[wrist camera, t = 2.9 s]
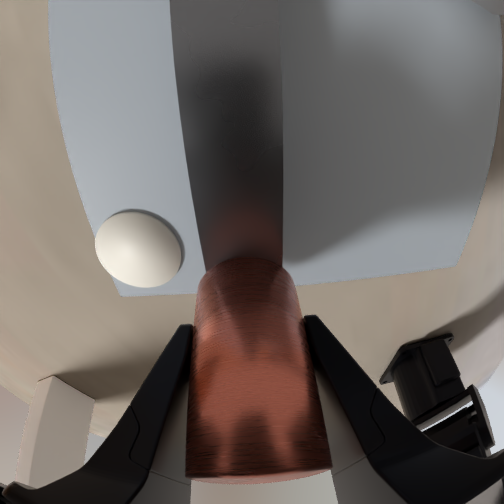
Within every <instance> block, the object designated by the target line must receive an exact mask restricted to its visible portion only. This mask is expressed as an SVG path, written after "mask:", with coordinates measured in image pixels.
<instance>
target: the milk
mask: <svg viewBox="0 0 504 504" xmlns="http://www.w3.org/2000/svg"><path fill="white" fill-rule="evenodd" d="M94 403H95V400H94V399H92V398H91V397H89V396H87V395H85V394H83V393H82V392H80V391H78V390H76V389H75V388H73V387H71V386H70V385H68V384H66V383H65V382H63V381H61V380H60V379H58V378H57V377H55V376H50V377H48V378H46V379H43V380H41V381H38V382H37V384H36V387H35V391H34V394H33V397H32V401H31V404H30V408H29V411H28V416H27V419H26V423H25V428H24V431H23V436H22V441H21V445H20V451H19V456H18V462H17V469H16V476H15V481H16V482H20V483H23V484H25V485H28V486H31V487H34V488H36V489H38V488H41V487H43V486H45V485H48V484H50V483H52V482H54V481H56V480H58V479H60V478H62V477H64V476H67V475H69V474H71V473H73V472H75V471H76V470H78V469H80V468H81V467H82V466H84V460H85V453H86V446H87V440H88V434H89V428H90V423H91V418H92V413H93V408H94Z"/></svg>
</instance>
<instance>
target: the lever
mask: <svg viewBox="0 0 504 504" xmlns="http://www.w3.org/2000/svg"><path fill="white" fill-rule="evenodd" d="M169 1H170V18H171V33H172V45H173V56H174V67H175V77H176V86H177V95H178V104H179V112H180V120H181V127H182V135H183V142H184V149H185V156H186V163H187V169H188V176H189V182H190V188H191V194H192V200H193V206H194V212H195V217H196V223H197V228H198V234H199V239H200V244H201V250H202V255H203V260H204V265H205V270H206V274H205V275H204V276H203V277H202V279H201V280H200V283H199V285H198V290H197V299H196V308H195V318H194V328H193V339H192V350H191V362H190V375H189V390H188V407H187V427H186V455H185V477H186V478H188V479H191V480H195V481H201V482H208V483H218V484H258V483H259V484H260V483H271V482H280V481H287V480H293V479H299V478H304V477H308V476H312V475H316V474H319V473H322V472H325V471H328V470H330V469H332V468H333V465H332V459H331V453H330V448H329V442H328V437H327V431H326V426H325V421H324V416H323V411H322V406H321V401H320V396H319V391H318V386H317V381H316V377H315V372H314V367H313V362H312V358H311V353H310V349H309V344H308V340H307V335H306V331H305V327H304V322H303V318H302V314H301V309H300V305H299V301H298V297H297V293H296V288H295V284H294V281H293V279H292V277H291V275H290V274H289V273H288V272H287V271H286V270H285V269H284V268H283V267H282V265H283V104H282V71H281V47H280V27H279V9H278V0H169Z"/></svg>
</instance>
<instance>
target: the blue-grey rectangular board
mask: <svg viewBox="0 0 504 504" xmlns="http://www.w3.org/2000/svg"><path fill="white" fill-rule="evenodd" d="M278 9H279V27H280V47H281V71H282V104H283V265H282V267H283V268H284V269H285V270H286V271H287V272H288V273H289V274H290V275H291V277H292V279H293V281H294V284H295V286H299V285H310V284H320V283H330V282H339V281H348V280H357V279H366V278H374V277H382V276H390V275H398V274H405V273H413V272H420V271H427V270H434V269H441V268H447V267H454V266H456V265H457V263H458V260H459V258H460V256H461V253H462V251H463V248H464V246H465V243H466V241H467V238H468V235H469V233H470V230H471V227H472V225H473V222H474V219H475V216H476V213H477V210H478V207H479V204H480V200H481V197H482V194H483V190H484V187H485V183H486V179H487V175H488V171H489V167H490V163H491V158H492V153H493V149H494V143H495V138H496V132H497V125H498V118H499V110H500V101H501V88H502V32H501V20H500V15H504V0H278ZM48 25H49V45H50V57H51V67H52V75H53V83H54V90H55V96H56V102H57V108H58V113H59V118H60V123H61V128H62V132H63V136H64V141H65V145H66V149H67V153H68V157H69V160H70V164H71V168H72V171H73V175H74V178H75V181H76V185H77V188H78V191H79V194H80V197H81V200H82V203H83V206H84V209H85V212H86V215H87V217H88V220H89V223H90V226H91V228H92V231H93V234H94V236H95V249H96V253H97V256H98V258H99V260H100V262H101V264H102V265H103V267H104V268H105V269H106V270H107V271H108V272H109V273H110V274H111V277H112V279H113V281H114V283H115V285H116V287H117V290H118V292H119V294H120V296H121V297H123V296H151V295H173V294H192V293H197V290H198V285H199V283H200V280H201V279H202V277H203V276H204V275H205V274H206V270H205V265H204V260H203V255H202V250H201V244H200V239H199V234H198V228H197V223H196V217H195V212H194V206H193V200H192V194H191V188H190V182H189V176H188V169H187V163H186V156H185V149H184V142H183V135H182V127H181V120H180V112H179V104H178V95H177V86H176V77H175V67H174V56H173V45H172V33H171V18H170V1H169V0H48Z"/></svg>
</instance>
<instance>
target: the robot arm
mask: <svg viewBox="0 0 504 504" xmlns="http://www.w3.org/2000/svg"><path fill="white" fill-rule="evenodd" d="M303 322H304V327H305V331H306V335H307V340H308V344H309V349H310V353H311V358H312V362H313V367H314V372H315V377H316V381H317V386H318V391H319V396H320V401H321V406H322V411H323V416H324V421H325V426H326V431H327V437H328V442H329V448H330V453H331V459H332V465H333V468H332V469H331V474H332V475H333V476H332V478H333V482H334V487H335V491H336V495H337V500H338V504H504V449H502V450H500V451H499V452H496V453H494V454H492V455H491V452H490V448H491V447H493V446H494V445H495V441H494V437H493V433H492V429H491V426H490V422H489V419H488V416H487V412H486V409H485V406H484V403H483V401H482V399H481V396H480V394H479V392H478V389H477V388H476V387H475V386H474V385H473V384H472V385H470V386H469V387H467V388H468V389H466V390H465V388H464V385H463V383H462V381H461V378H460V371H459V369H458V367H457V365H456V363H455V361H454V359H453V356H452V354H451V352H450V350H449V348H448V346H449V344H450V343H451V342H452V340H453V339H454V336H453V334H452V333H451V334H447V335H444V336H441V337H437V338H434V339H431V340H427V341H423V342H420V343H416V344H412V345H408V346H404V347H402V348H400V349H399V350H398V352H397V353H396V355H395V357H394V358H393V360H392V361H391V363H390V365H389V366H388V368H387V369H386V371H385V372H384V374H383V375H382V377H381V378H380V380H379V382H380V384H381V385H382V384H386V383H390V382H394V384H395V387H396V390H397V393H398V396H399V399H400V402H401V405H402V408H403V412H404V415H405V416H404V415H403V414H402V413H401V412H400V411H399V410H398V409H397V408H396V407H395V406H394V405H393V404H392V403H391V402H390V401H389V400H388V399H387V397H386V396H385V395H384V394H383V393H382V392H381V390H380V389H379V388H377V386H376V385H375V383H374V382H373V381H372V380H371V379H370V377H369V376H368V375H367V374H366V373H365V372H364V370H363V369H362V368H361V367H360V366H359V364H358V363H357V362H356V361H355V360H354V359H353V357H352V356H351V355H350V354H349V353H348V352H347V350H346V349H345V348H344V347H343V346H342V344H341V343H340V342H339V341H338V340H337V339H336V337H335V336H334V335H333V334H332V333H331V332H330V330H329V329H328V328H327V327H326V326H325V325H324V323H323V322H322V321H321V320H320V319H319V318H318V316H316V315H306V316H304V318H303ZM193 328H194V327H193V325H192V324H182V325H180V326H179V327H178V329H177V330H176V332H175V333H174V335H173V337H172V338H171V340H170V341H169V343H168V344H167V346H166V348H165V349H164V351H163V352H162V354H161V355H160V357H159V359H158V360H157V362H156V363H155V365H154V366H153V368H152V370H151V371H150V373H149V374H148V376H147V378H146V379H145V381H144V382H143V384H142V386H141V387H140V389H139V390H138V392H137V394H136V395H135V397H134V398H133V400H132V402H131V403H130V405H131V406H130V405H129V406H128V408H127V410H126V411H125V413H124V414H123V416H122V417H121V419H120V420H119V422H118V424H117V425H116V426H115V428H114V429H113V430H112V432H111V433H110V434H109V436H108V437H107V438H106V439H105V441H104V442H103V443H102V445H101V446H100V447H99V448H98V450H97V451H96V452H95V453H94V455H93V456H92V457H91V458H90V460H89V461H88V462H87V463H86V464H85V465H84V466H82V467H81V468H80V469H78V470H76V471H75V472H73V473H71V474H69V475H67V476H64V477H62V478H60V479H58V480H56V481H54V482H52V483H50V484H48V485H45V486H43V487H41V488H38V489H36V488H34V487H31V486H28V485H25V484H23V483H20V482H16V481H14V482H12V483H10V484H9V485H8V486H7V485H4V484H2V483H0V504H190V496H191V479H188V478H186V477H185V455H186V427H187V407H188V390H189V375H190V362H191V350H192V339H193ZM470 401H472V402H473V404H472V405H471V406H469V407H468V408H467V407H465V408H463V409H462V410H460V411H459V412H457V413H455V414H454V415H452V416H450V417H449V418H447V419H445V420H443V421H442V422H440V423H438V424H436V425H434V426H432V427H431V428H429V429H427V430H425V431H423V432H421V431H420V430H422V429H424V428H426V427H428V426H430V425H432V424H434V423H435V422H437V421H439V420H441V419H443V418H444V417H446V416H448V415H449V414H451V413H453V412H454V411H456V410H458V409H459V408H461V407H462V406H464V405H466V404H467V403H469V402H470Z"/></svg>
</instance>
